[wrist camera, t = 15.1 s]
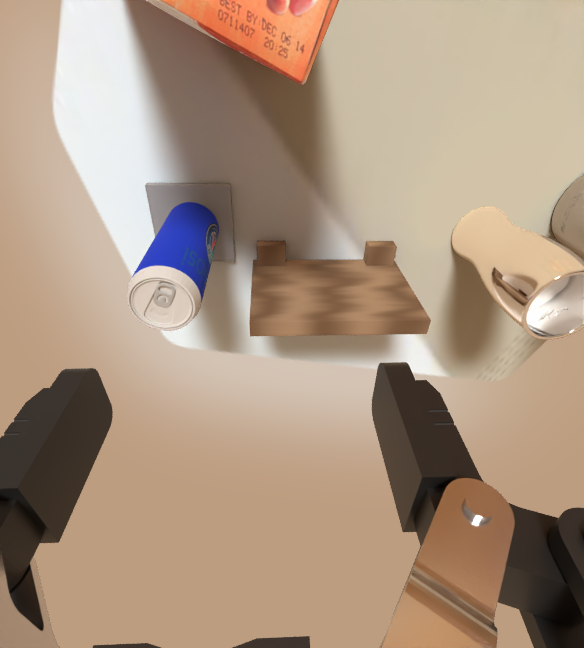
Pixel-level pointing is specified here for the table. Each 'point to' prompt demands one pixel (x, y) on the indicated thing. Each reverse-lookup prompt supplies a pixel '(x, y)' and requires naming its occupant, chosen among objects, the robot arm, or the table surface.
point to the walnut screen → (332, 295)
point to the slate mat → (207, 195)
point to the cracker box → (261, 28)
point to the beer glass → (524, 272)
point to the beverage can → (175, 269)
